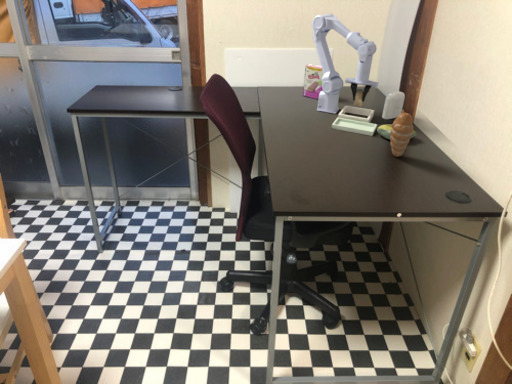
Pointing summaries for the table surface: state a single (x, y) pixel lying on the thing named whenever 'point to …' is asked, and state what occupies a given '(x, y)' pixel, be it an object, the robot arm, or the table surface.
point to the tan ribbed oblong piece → (401, 133)
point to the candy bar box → (313, 81)
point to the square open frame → (356, 111)
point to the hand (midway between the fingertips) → (358, 100)
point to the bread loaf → (358, 98)
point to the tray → (354, 126)
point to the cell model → (389, 131)
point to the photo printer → (393, 105)
